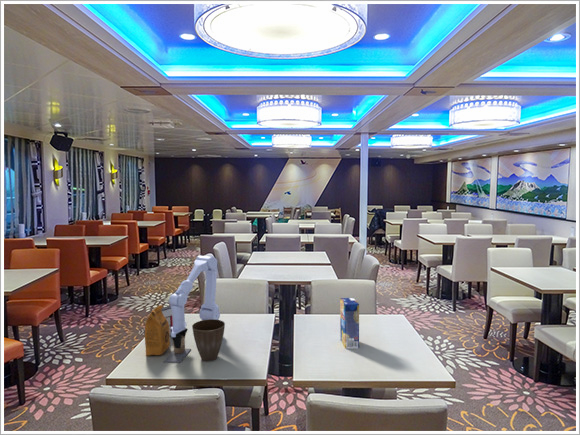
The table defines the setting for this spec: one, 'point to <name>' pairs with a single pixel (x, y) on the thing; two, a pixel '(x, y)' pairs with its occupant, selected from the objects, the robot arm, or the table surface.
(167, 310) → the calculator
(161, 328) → the coffee package
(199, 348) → the plant pot
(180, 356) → the rubber mat
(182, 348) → the walnut block
